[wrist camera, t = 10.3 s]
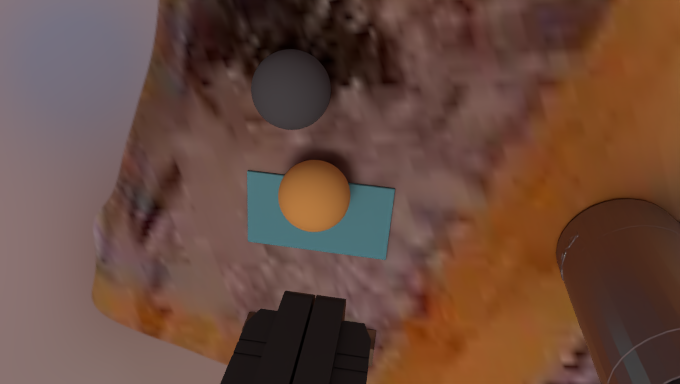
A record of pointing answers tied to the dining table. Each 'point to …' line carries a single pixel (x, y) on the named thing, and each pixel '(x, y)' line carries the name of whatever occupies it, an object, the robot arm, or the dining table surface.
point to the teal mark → (344, 238)
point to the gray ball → (291, 89)
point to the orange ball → (314, 195)
